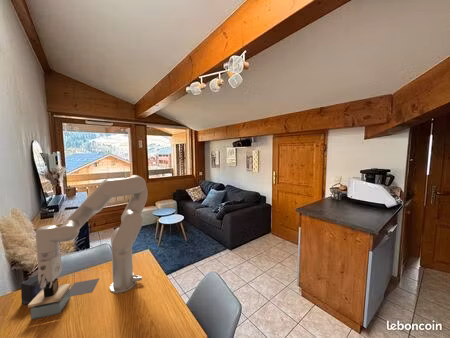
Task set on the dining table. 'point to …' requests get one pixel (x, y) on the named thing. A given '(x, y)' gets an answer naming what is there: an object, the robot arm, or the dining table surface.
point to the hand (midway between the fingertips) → (51, 292)
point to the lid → (57, 296)
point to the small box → (30, 289)
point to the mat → (83, 287)
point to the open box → (50, 307)
